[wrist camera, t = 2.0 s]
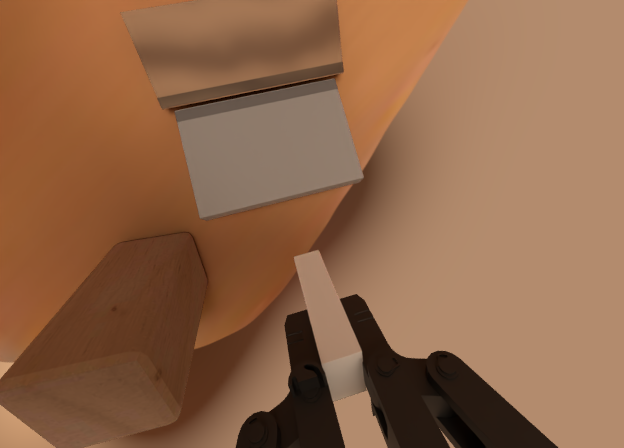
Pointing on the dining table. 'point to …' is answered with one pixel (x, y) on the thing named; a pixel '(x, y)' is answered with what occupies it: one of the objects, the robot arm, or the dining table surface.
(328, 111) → the plank
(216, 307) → the dining table surface
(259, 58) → the board
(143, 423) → the wooden block
